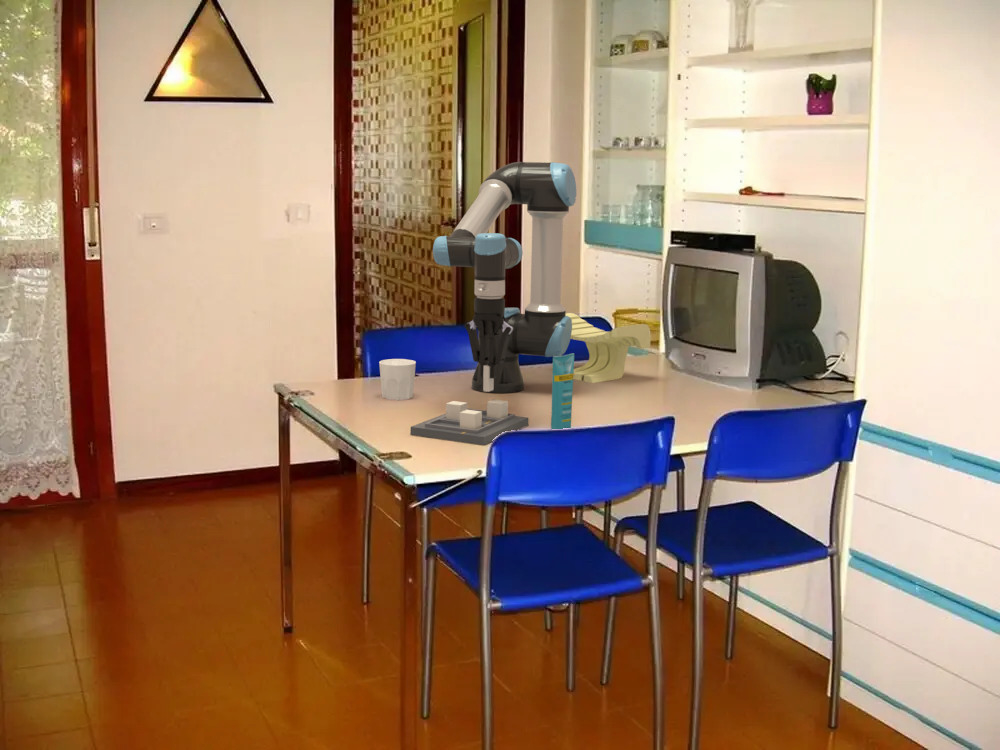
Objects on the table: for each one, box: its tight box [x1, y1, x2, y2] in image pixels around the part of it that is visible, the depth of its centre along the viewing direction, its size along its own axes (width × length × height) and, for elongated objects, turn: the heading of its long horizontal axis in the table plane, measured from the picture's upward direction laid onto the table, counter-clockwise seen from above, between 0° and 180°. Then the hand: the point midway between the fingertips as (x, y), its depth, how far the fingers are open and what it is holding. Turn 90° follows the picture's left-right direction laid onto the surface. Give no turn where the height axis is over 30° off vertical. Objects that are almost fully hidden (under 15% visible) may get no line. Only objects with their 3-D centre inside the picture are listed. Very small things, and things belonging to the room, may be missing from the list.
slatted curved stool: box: [566, 312, 652, 384], centre depth 360 cm, size 30×16×18 cm, turn 44°
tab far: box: [486, 398, 509, 419], centre depth 293 cm, size 4×4×4 cm
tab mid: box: [445, 400, 468, 420], centre depth 290 cm, size 4×4×4 cm
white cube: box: [460, 410, 482, 430], centre depth 280 cm, size 4×4×4 cm
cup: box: [378, 358, 417, 401], centre depth 325 cm, size 10×10×10 cm
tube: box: [550, 353, 575, 430], centre depth 287 cm, size 7×5×19 cm, turn 139°
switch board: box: [410, 407, 529, 446], centre depth 289 cm, size 20×24×3 cm
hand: (488, 390), depth 293 cm, fingers closed
